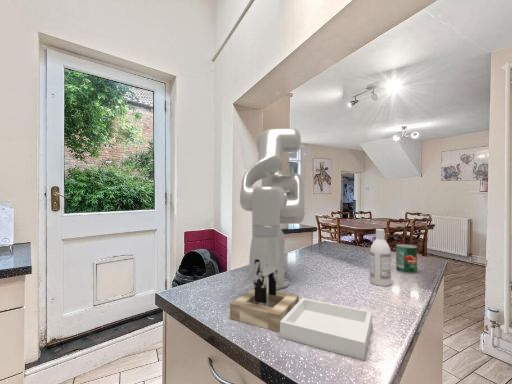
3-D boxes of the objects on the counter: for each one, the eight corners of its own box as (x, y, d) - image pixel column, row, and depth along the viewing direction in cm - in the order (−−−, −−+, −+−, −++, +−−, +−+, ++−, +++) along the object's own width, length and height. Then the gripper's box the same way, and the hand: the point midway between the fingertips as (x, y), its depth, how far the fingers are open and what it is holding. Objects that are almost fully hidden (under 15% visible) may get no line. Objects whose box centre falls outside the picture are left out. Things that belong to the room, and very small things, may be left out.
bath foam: (393, 283, 97) (393, 229, 97) (387, 288, 92) (387, 230, 92) (373, 279, 102) (373, 227, 102) (367, 283, 97) (367, 229, 97)
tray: (302, 310, 74) (302, 297, 74) (371, 325, 65) (371, 311, 65) (279, 337, 60) (279, 321, 60) (364, 361, 51) (364, 342, 51)
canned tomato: (399, 267, 118) (399, 243, 119) (419, 271, 113) (419, 245, 113) (393, 271, 113) (393, 245, 113) (414, 275, 107) (414, 248, 107)
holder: (255, 300, 81) (255, 287, 81) (298, 309, 74) (298, 295, 74) (229, 318, 69) (229, 303, 69) (279, 332, 62) (279, 314, 62)
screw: (275, 317, 69) (257, 318, 69) (273, 309, 74) (256, 310, 74) (276, 268, 69) (257, 268, 69) (273, 263, 74) (256, 263, 74)
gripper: (267, 227, 81) (267, 286, 81) (237, 234, 66) (237, 306, 66) (290, 228, 77) (290, 290, 77) (264, 236, 62) (263, 313, 62)
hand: (265, 297), depth 71 cm, fingers open, 5 cm apart
